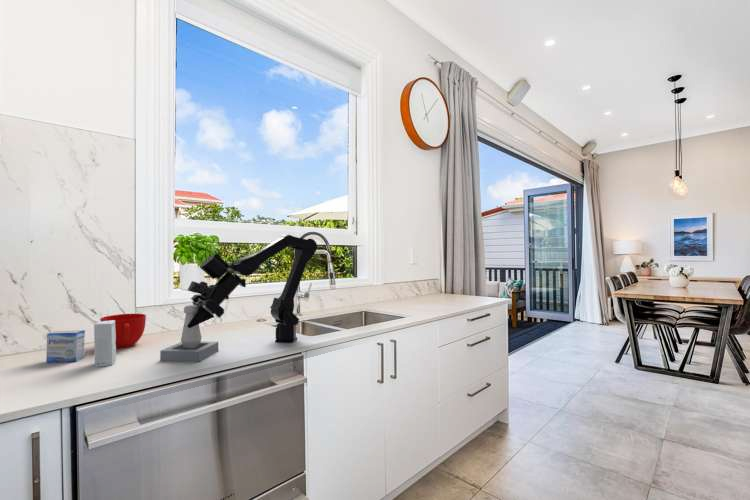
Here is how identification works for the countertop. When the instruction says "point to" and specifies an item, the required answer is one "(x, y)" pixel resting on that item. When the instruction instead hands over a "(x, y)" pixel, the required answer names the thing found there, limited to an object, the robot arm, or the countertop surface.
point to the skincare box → (105, 343)
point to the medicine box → (65, 346)
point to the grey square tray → (188, 352)
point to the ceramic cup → (127, 328)
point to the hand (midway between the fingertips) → (186, 326)
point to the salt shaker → (190, 329)
